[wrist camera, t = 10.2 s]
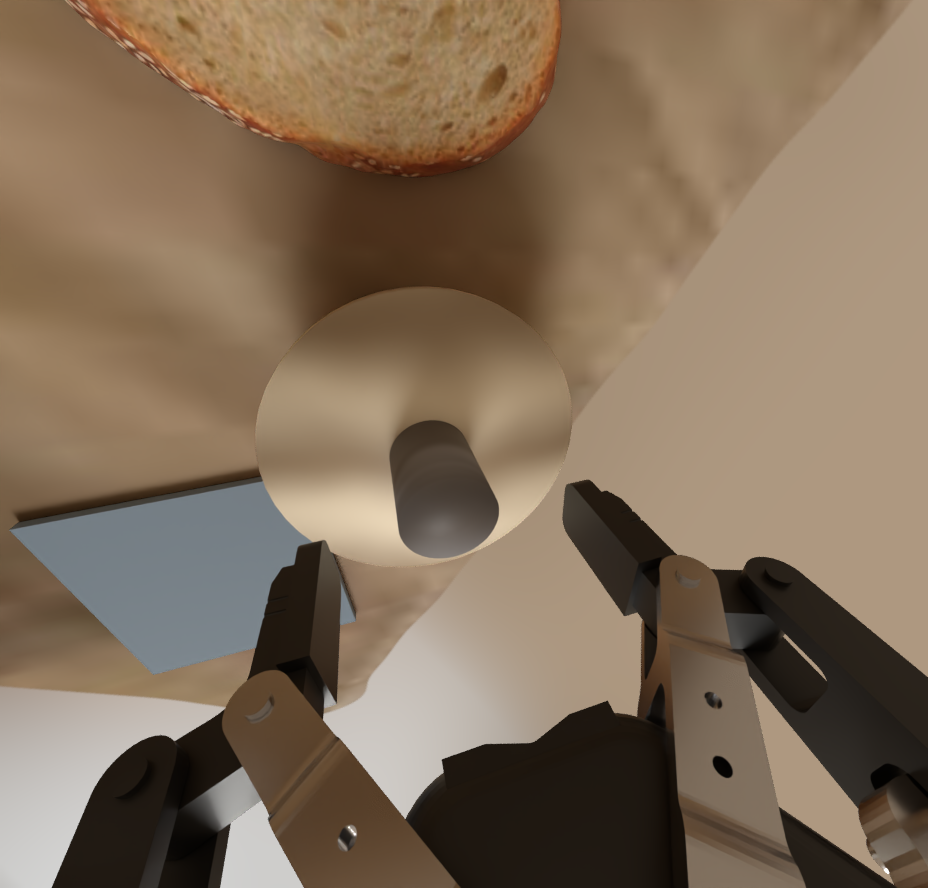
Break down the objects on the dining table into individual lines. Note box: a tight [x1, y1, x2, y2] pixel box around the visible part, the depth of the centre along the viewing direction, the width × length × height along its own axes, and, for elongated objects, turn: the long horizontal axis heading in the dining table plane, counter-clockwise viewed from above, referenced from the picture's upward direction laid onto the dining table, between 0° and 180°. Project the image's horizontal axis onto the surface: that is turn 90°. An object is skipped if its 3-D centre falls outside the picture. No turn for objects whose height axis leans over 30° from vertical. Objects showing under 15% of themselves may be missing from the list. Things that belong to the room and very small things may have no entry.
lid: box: [255, 286, 572, 567], centre depth 15 cm, size 14×14×5 cm
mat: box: [10, 477, 356, 675], centre depth 25 cm, size 15×15×1 cm
